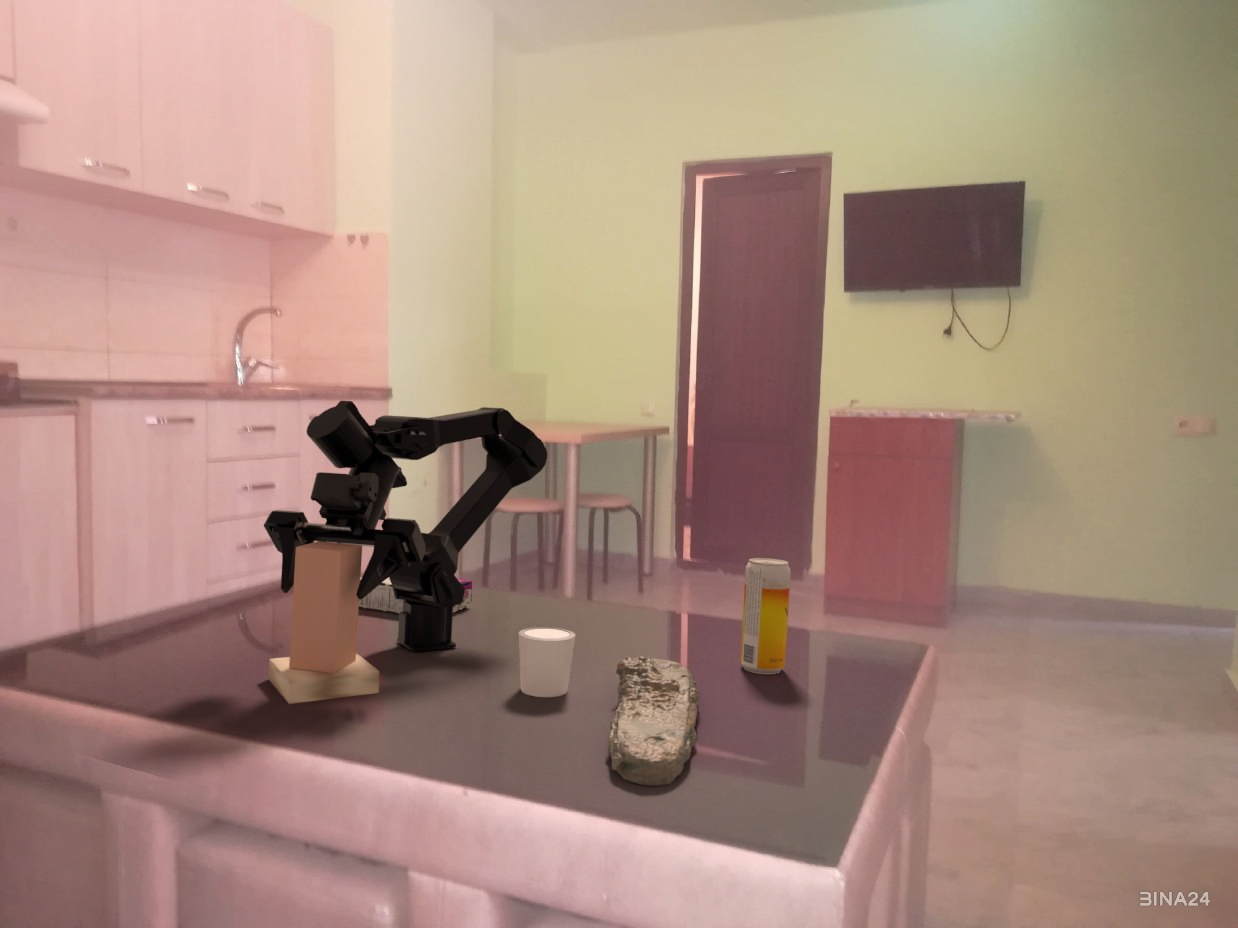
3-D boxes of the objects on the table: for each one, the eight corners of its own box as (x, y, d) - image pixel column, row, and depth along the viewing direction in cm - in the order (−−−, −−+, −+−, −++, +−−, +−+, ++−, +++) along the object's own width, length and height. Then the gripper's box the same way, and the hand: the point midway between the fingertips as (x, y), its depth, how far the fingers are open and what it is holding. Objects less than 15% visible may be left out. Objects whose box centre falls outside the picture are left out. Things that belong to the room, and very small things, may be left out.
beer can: (792, 670, 122) (799, 562, 121) (768, 678, 117) (775, 565, 117) (756, 660, 126) (762, 556, 125) (730, 667, 122) (737, 559, 121)
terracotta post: (312, 655, 107) (319, 541, 106) (355, 660, 106) (362, 545, 106) (289, 667, 102) (295, 546, 101) (334, 673, 101) (341, 551, 100)
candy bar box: (472, 608, 151) (392, 596, 157) (473, 579, 150) (393, 568, 156) (434, 621, 140) (350, 607, 146) (436, 590, 140) (352, 577, 146)
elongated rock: (586, 798, 80) (695, 814, 80) (592, 742, 80) (702, 757, 79) (620, 672, 115) (697, 682, 114) (625, 633, 115) (701, 643, 114)
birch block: (352, 674, 111) (353, 650, 111) (378, 696, 103) (379, 671, 102) (268, 683, 105) (269, 658, 105) (288, 708, 97) (289, 681, 97)
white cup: (528, 701, 102) (531, 641, 102) (507, 684, 108) (510, 627, 108) (582, 695, 106) (585, 637, 105) (558, 679, 112) (561, 624, 111)
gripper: (274, 444, 108) (218, 545, 97) (421, 453, 105) (379, 558, 95) (304, 503, 116) (255, 602, 106) (440, 512, 114) (404, 615, 103)
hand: (320, 594), depth 102 cm, fingers open, 9 cm apart
